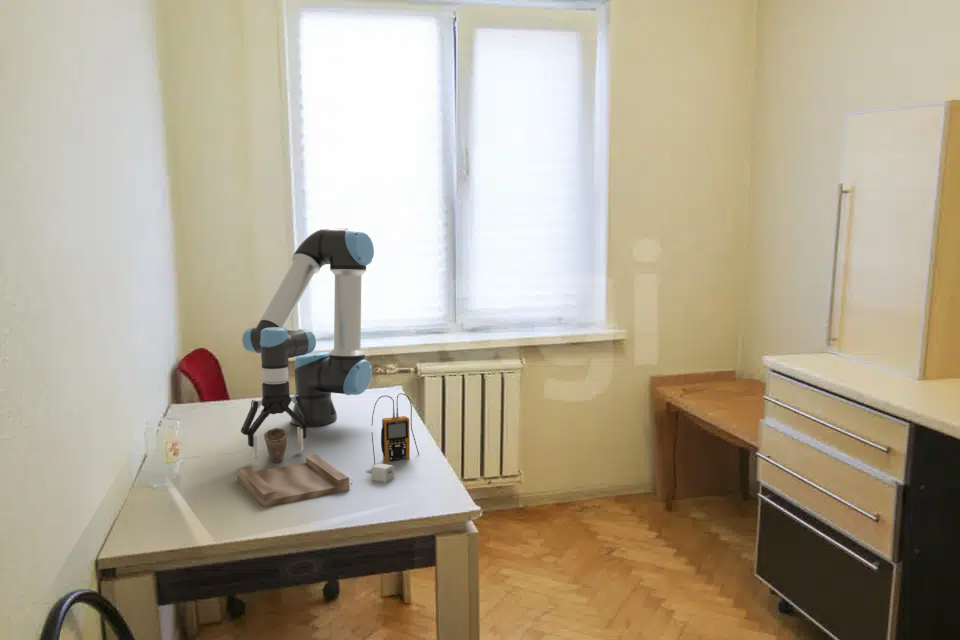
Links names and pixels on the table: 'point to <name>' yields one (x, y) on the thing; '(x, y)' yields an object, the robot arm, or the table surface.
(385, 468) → the usb wall charger
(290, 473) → the block
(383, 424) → the multimeter
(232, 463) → the table surface
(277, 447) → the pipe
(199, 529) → the table surface
